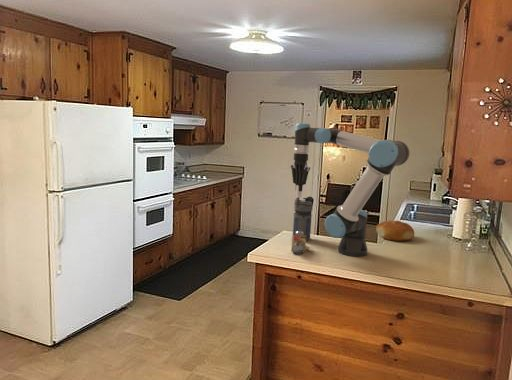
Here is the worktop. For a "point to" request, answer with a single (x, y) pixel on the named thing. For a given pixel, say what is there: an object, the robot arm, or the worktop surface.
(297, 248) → the valve pipe
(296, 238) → the lever
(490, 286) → the worktop surface
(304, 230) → the beverage bottle
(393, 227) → the bread
